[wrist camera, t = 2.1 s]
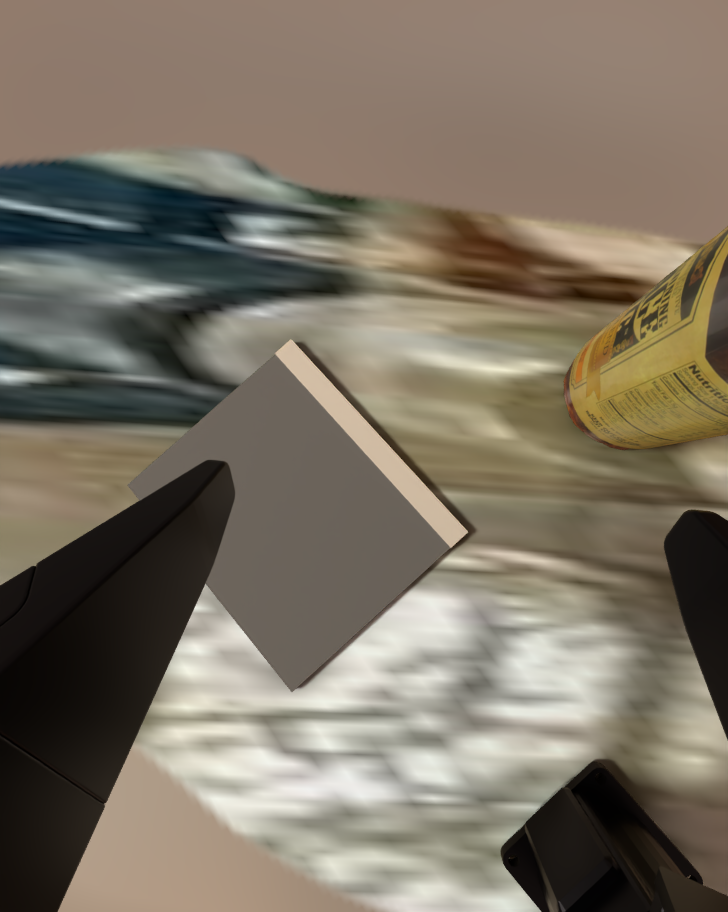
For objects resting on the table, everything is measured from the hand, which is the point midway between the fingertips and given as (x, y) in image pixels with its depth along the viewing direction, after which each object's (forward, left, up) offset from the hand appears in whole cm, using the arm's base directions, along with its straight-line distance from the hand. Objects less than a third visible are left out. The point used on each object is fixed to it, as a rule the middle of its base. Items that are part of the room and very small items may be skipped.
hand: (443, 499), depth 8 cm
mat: (+4, +5, -14) cm, 15 cm away
